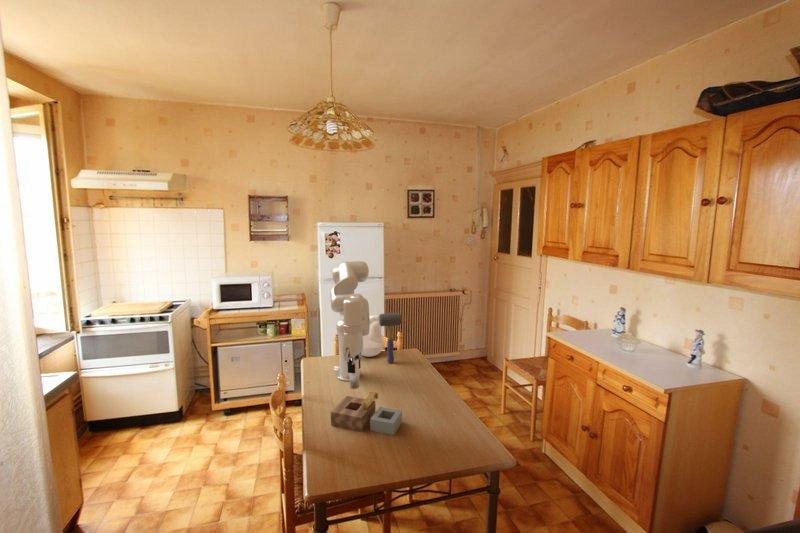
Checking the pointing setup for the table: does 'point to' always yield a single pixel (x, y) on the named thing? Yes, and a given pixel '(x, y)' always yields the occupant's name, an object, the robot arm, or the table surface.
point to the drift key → (370, 399)
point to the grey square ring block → (386, 420)
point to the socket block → (352, 414)
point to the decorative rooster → (373, 338)
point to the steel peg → (355, 375)
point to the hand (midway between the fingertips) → (354, 370)
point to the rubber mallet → (390, 330)
